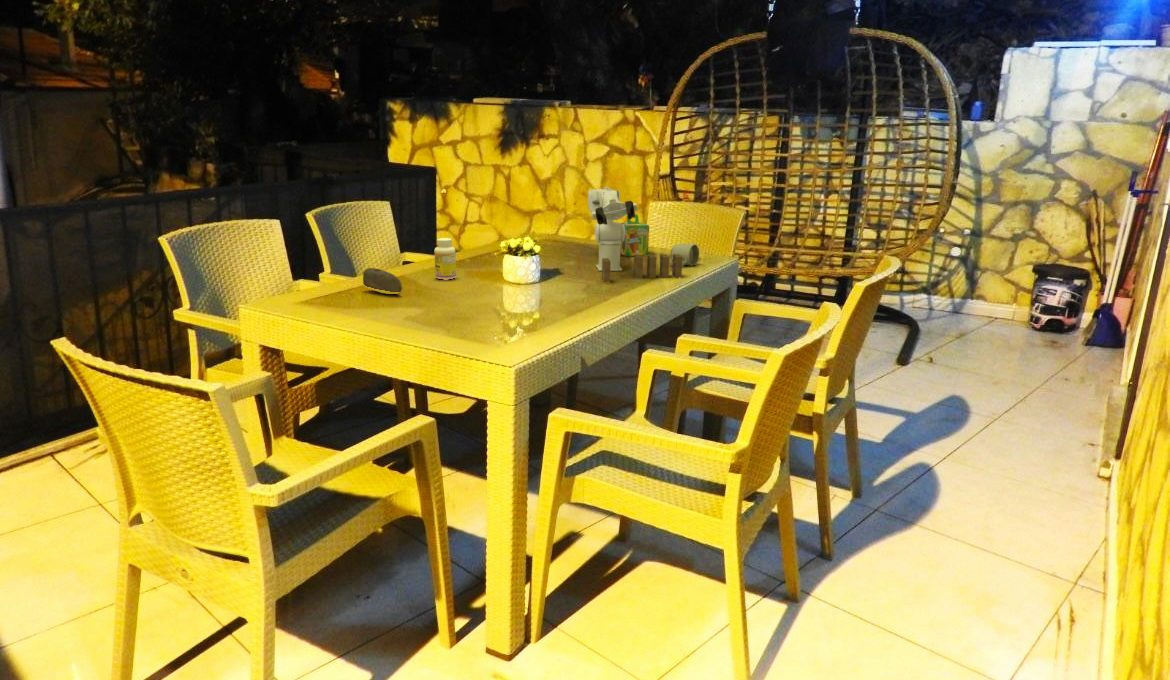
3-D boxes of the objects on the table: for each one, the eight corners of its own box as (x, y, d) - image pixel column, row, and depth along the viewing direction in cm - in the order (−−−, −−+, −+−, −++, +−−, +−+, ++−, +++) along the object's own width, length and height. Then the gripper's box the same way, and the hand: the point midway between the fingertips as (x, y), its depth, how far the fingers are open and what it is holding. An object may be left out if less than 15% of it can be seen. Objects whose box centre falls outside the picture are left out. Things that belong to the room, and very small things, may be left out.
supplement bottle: (434, 277, 275) (432, 237, 272) (454, 276, 277) (453, 237, 274) (437, 281, 269) (435, 241, 266) (458, 280, 271) (456, 240, 268)
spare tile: (601, 279, 274) (601, 258, 272) (607, 279, 274) (608, 258, 272) (603, 283, 269) (603, 261, 267) (610, 282, 269) (610, 261, 267)
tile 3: (646, 275, 281) (646, 254, 279) (652, 275, 281) (653, 254, 279) (648, 278, 276) (649, 257, 274) (655, 278, 277) (656, 257, 275)
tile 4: (658, 275, 282) (659, 254, 280) (665, 275, 282) (666, 254, 280) (661, 278, 277) (662, 256, 275) (668, 278, 277) (669, 256, 275)
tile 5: (671, 274, 282) (672, 254, 280) (678, 274, 282) (678, 253, 280) (674, 277, 277) (675, 256, 275) (681, 277, 278) (682, 256, 276)
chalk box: (626, 257, 313) (627, 217, 309) (616, 253, 321) (617, 214, 317) (649, 255, 317) (650, 216, 313) (638, 251, 325) (639, 213, 321)
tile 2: (633, 275, 281) (633, 254, 279) (639, 275, 281) (640, 254, 279) (635, 278, 276) (636, 257, 274) (642, 278, 276) (643, 257, 274)
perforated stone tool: (408, 295, 249) (406, 272, 247) (393, 298, 245) (392, 275, 244) (376, 288, 259) (374, 266, 257) (361, 291, 255) (360, 268, 253)
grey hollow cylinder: (679, 261, 305) (679, 240, 303) (699, 264, 301) (700, 242, 298) (664, 266, 297) (664, 245, 295) (684, 269, 292) (685, 247, 290)
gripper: (588, 199, 277) (592, 211, 264) (632, 190, 277) (638, 201, 264) (592, 220, 280) (596, 232, 267) (635, 211, 280) (641, 223, 267)
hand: (617, 218), depth 266 cm, fingers open, 7 cm apart
